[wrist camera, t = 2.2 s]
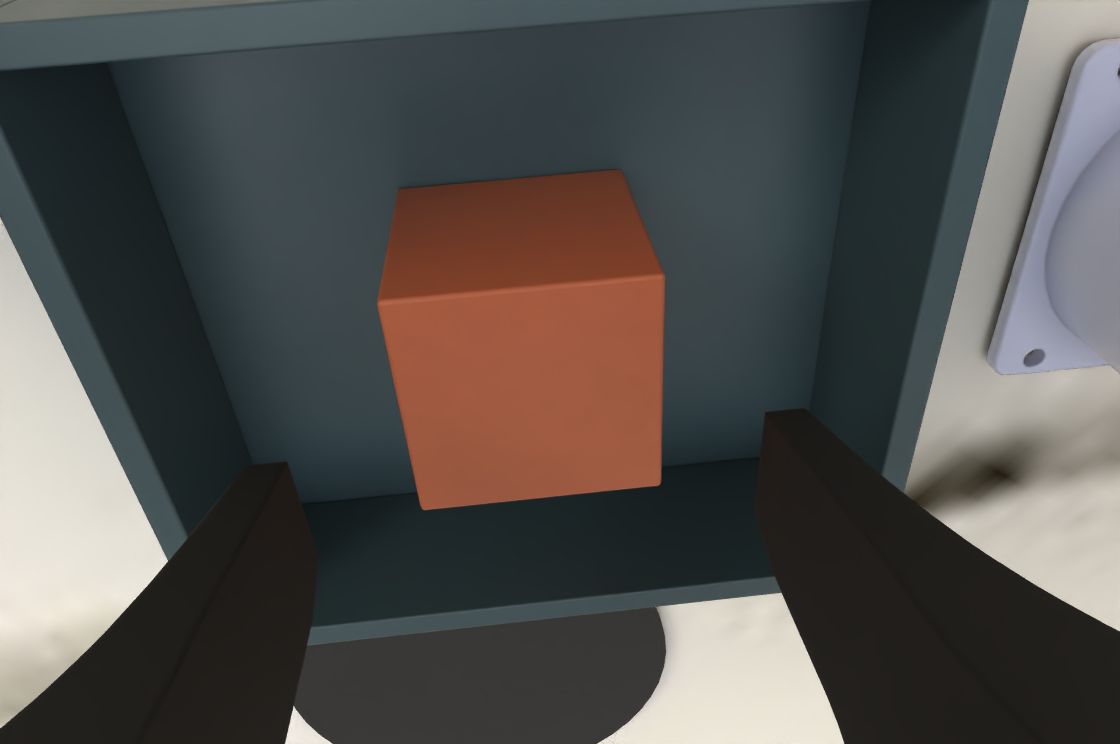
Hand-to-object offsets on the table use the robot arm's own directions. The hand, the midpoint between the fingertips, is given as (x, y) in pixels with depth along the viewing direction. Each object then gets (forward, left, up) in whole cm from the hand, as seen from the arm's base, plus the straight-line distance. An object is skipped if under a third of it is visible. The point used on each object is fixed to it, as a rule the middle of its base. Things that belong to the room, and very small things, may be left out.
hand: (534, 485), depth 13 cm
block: (0, 0, -7) cm, 7 cm away
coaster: (+2, +14, -7) cm, 16 cm away
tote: (0, 0, -7) cm, 7 cm away
